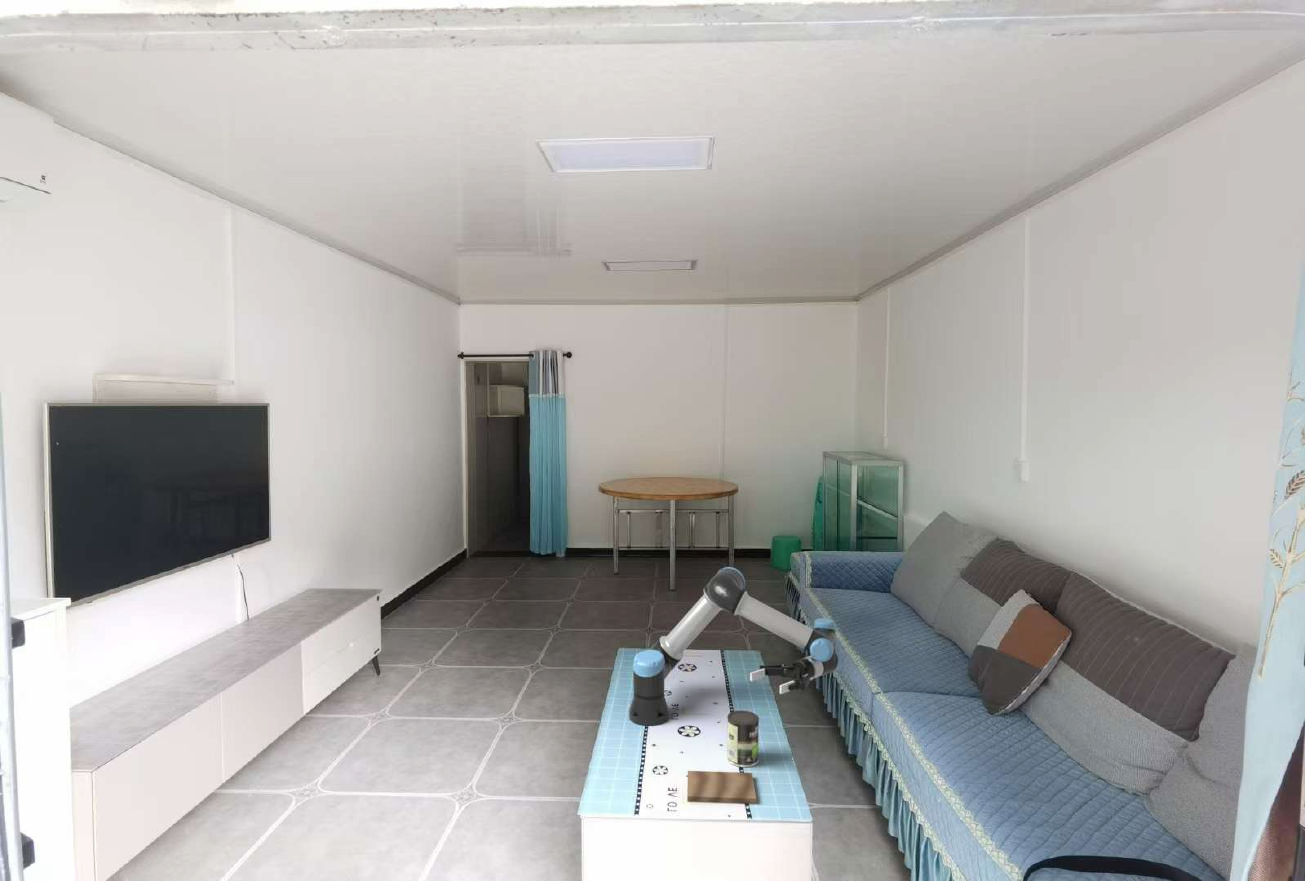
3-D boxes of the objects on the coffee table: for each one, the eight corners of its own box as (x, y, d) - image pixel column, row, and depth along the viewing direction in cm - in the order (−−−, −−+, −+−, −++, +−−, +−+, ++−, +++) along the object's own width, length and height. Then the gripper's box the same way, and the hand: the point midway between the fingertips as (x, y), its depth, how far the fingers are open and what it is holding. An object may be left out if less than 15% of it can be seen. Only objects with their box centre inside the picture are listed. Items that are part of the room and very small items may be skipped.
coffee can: (763, 756, 215) (763, 714, 215) (751, 770, 207) (751, 727, 206) (735, 748, 221) (735, 707, 220) (721, 762, 212) (721, 719, 212)
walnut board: (687, 801, 190) (687, 796, 190) (687, 775, 204) (687, 770, 204) (756, 803, 189) (756, 798, 189) (752, 777, 203) (752, 772, 203)
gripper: (835, 690, 221) (793, 707, 209) (780, 668, 241) (739, 682, 229) (835, 668, 221) (793, 683, 209) (780, 648, 241) (739, 661, 229)
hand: (765, 683), depth 219 cm, fingers open, 13 cm apart
